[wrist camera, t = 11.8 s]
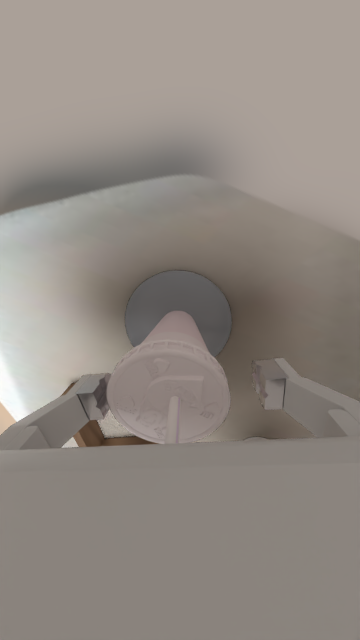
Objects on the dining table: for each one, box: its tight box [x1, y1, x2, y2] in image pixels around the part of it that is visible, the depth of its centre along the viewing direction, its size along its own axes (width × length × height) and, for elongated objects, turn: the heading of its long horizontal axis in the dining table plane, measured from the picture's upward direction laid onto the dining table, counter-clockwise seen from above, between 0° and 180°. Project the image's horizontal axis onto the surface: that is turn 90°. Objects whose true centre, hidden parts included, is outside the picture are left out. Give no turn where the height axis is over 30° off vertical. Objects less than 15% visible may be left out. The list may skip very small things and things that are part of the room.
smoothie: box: [107, 311, 231, 444], centre depth 11 cm, size 6×6×14 cm
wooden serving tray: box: [61, 383, 159, 447], centre depth 22 cm, size 12×12×3 cm
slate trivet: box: [125, 270, 232, 357], centre depth 18 cm, size 11×11×1 cm
